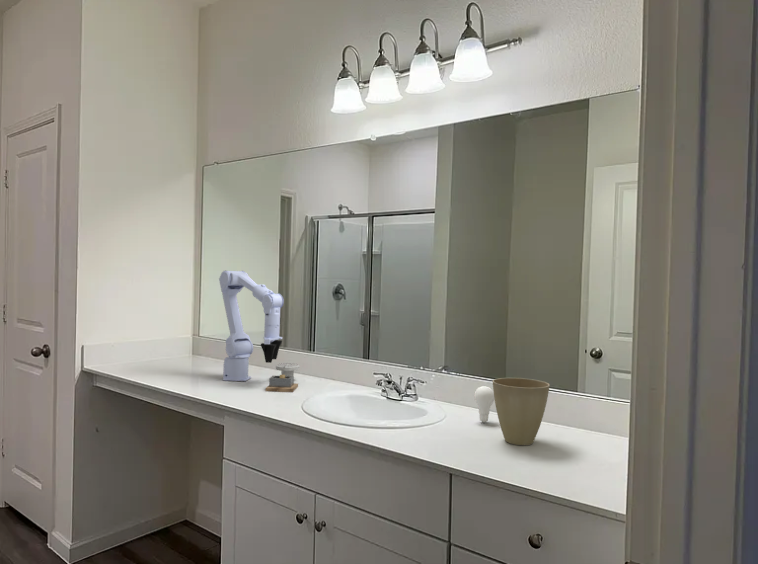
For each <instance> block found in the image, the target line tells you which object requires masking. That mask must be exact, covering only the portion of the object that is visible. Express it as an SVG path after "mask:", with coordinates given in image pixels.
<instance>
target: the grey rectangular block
mask: <svg viewBox="0 0 758 564" xmlns="http://www.w3.org/2000/svg"><path fill="white" fill-rule="evenodd" d="M268 379H269V382H268V383H269V385H268V386H269V387H288V388H291V387H292V386H293V385H294V383H295V375H294V376H285V378H280V375H272V376H270V377H269V378H268Z"/></svg>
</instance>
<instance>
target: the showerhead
mask: <svg viewBox="0 0 758 564" xmlns="http://www.w3.org/2000/svg"><path fill="white" fill-rule="evenodd" d="M275 370H276V371H281V373H280V375H285V376H294V377H295V375H294V374H295V373H294V372H295V371H299V370H300V364H297V363H294V362H293V363H292V362H289V363H288V362H281V363H278V364H276V365H275Z"/></svg>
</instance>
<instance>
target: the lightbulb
mask: <svg viewBox="0 0 758 564" xmlns="http://www.w3.org/2000/svg"><path fill="white" fill-rule="evenodd" d="M473 396H474V401H475V403H476V405H477V407H478V413H479V421H480V422H481V423H483V424H485V423H486V422H488V421H489V414H490V411H491V407H492V405H493V403H495V399H494V391H493V388H491V387H489V386H485V385H481V386H480V387H479V386H478V387H477V388H476V390H475V392H474V395H473Z"/></svg>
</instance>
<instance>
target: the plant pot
mask: <svg viewBox="0 0 758 564" xmlns="http://www.w3.org/2000/svg"><path fill="white" fill-rule="evenodd" d="M492 390H493V392H494V404H495V410H496V413H497V414H496V415H497V418H498V422H499V426H500V430H501V432H502V435H503V438H504V441H505V442H506V443H509V444H511V445H515V446H516V445H517V446H530V445H533V443H534V441H535V439H536V437H537V435H538V432H539V430H540V427H541V425H542V420H543V417H544V414H545V412H546V411H545V410H546V406H547V403H548V399H549V398H548V397H549V392H550V383H548V382H546V381H544V380H543V381H542V380H538V379H532V378H524V377H499V378H495V379H493V380H492Z"/></svg>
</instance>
